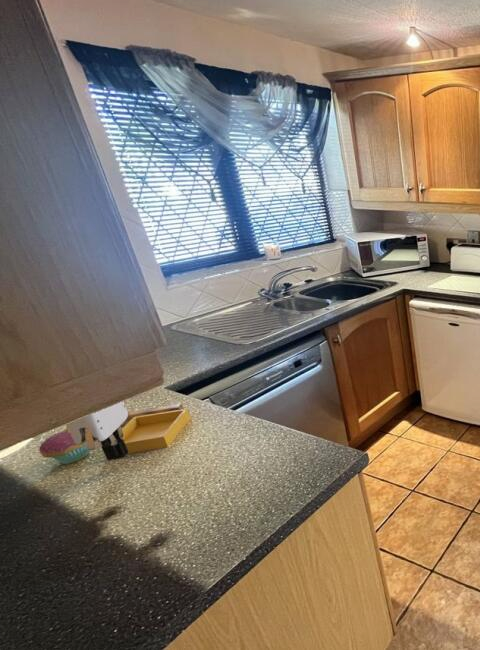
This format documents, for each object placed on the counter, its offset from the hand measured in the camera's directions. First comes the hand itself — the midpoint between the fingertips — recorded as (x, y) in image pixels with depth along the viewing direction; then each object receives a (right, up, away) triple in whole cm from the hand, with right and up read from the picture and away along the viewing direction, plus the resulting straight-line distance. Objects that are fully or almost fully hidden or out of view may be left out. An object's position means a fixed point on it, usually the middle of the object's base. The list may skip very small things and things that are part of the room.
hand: (118, 456), depth 88 cm
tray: (-2, +1, +10) cm, 11 cm away
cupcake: (-14, -2, +4) cm, 15 cm away
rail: (-8, +4, +17) cm, 19 cm away
